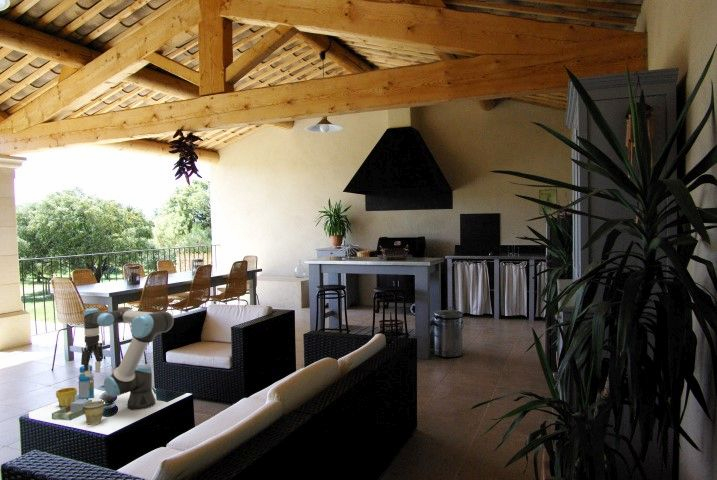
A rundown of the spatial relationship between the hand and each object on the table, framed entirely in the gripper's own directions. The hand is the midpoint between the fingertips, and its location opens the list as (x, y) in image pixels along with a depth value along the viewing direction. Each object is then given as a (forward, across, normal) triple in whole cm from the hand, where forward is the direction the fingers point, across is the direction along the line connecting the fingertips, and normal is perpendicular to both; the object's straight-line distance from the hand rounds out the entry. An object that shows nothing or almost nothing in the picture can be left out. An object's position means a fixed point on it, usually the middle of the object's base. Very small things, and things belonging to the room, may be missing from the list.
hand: (92, 374), depth 281 cm
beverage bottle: (+19, -12, -16) cm, 28 cm away
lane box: (+19, +10, 0) cm, 22 cm away
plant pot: (+19, +2, -17) cm, 26 cm away
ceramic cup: (+19, +20, +20) cm, 34 cm away
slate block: (+18, +9, 0) cm, 20 cm away
